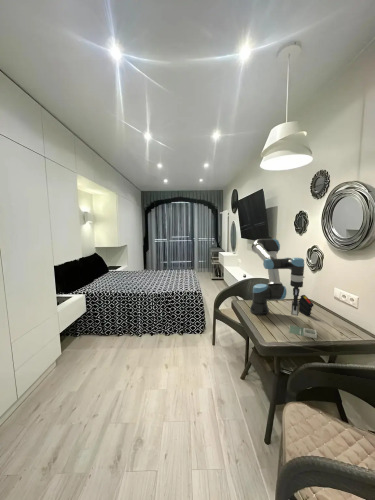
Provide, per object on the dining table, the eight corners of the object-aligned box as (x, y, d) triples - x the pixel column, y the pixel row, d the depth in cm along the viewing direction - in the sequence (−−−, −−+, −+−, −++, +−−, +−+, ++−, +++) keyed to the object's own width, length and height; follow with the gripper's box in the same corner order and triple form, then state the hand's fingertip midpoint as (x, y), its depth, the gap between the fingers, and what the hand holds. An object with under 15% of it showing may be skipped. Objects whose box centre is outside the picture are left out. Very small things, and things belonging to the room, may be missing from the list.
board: (289, 334, 134) (289, 329, 134) (289, 326, 145) (290, 322, 144) (317, 340, 127) (317, 335, 126) (315, 332, 137) (316, 327, 137)
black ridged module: (298, 307, 176) (304, 294, 168) (308, 319, 165) (315, 306, 157) (294, 307, 175) (301, 294, 167) (304, 319, 164) (311, 306, 156)
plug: (291, 314, 138) (291, 303, 137) (291, 312, 142) (292, 301, 141) (298, 315, 136) (299, 304, 135) (298, 313, 140) (299, 302, 139)
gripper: (303, 284, 127) (301, 319, 130) (302, 278, 142) (300, 309, 145) (290, 283, 130) (288, 317, 133) (291, 276, 145) (289, 307, 148)
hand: (294, 312), depth 139 cm, fingers closed on plug, 4 cm apart
